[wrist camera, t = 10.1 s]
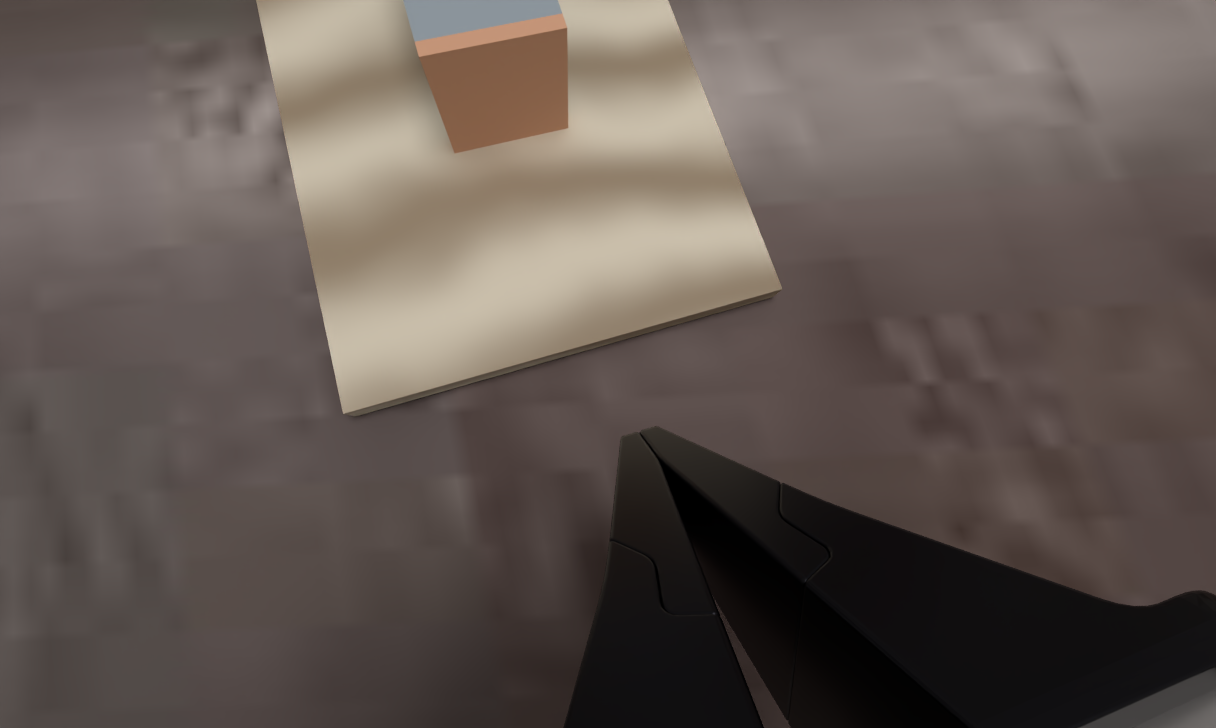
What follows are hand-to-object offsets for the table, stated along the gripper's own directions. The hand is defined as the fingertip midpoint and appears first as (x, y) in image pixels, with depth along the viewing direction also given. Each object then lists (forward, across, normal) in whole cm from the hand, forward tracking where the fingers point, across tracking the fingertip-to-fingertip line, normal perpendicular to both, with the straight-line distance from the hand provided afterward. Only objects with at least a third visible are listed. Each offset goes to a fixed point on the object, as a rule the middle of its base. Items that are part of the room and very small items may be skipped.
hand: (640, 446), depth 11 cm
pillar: (+14, 0, +6) cm, 15 cm away
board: (+19, 0, +6) cm, 20 cm away
